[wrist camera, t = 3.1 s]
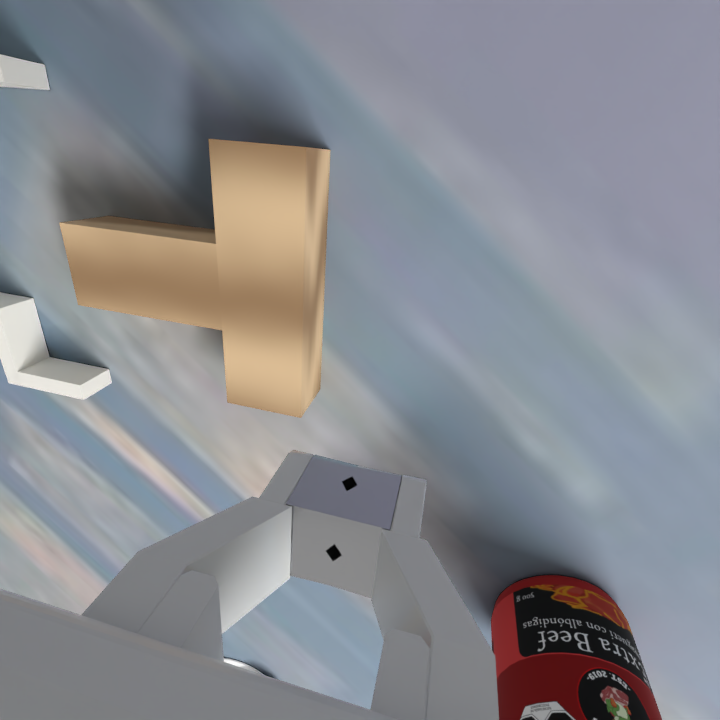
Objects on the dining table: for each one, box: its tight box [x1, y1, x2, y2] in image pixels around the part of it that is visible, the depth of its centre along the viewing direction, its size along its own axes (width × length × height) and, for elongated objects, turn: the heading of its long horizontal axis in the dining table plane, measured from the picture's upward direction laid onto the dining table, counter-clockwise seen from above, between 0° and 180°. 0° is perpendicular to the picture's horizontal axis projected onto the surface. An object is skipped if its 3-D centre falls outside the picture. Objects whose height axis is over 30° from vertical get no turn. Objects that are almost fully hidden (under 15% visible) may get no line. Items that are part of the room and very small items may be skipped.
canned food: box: [491, 575, 662, 720], centre depth 21 cm, size 8×8×11 cm
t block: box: [60, 139, 330, 418], centre depth 20 cm, size 12×12×3 cm
